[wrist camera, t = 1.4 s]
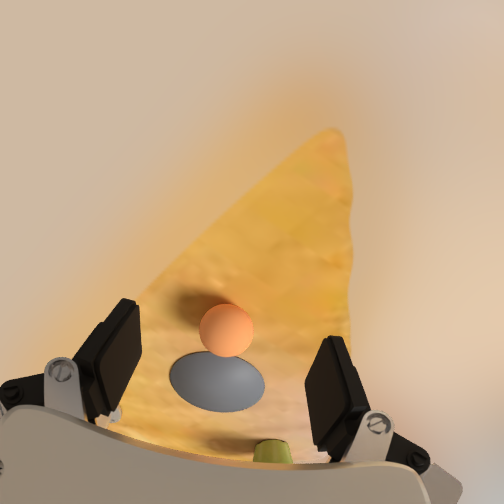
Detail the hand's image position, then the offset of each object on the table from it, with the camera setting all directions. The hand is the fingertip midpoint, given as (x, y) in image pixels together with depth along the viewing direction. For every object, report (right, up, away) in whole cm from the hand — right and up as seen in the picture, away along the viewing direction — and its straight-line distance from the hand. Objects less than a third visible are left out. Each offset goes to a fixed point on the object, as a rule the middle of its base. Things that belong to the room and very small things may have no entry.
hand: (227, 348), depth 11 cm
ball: (-2, -4, +16) cm, 16 cm away
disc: (-4, -14, +23) cm, 27 cm away
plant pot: (+5, -32, +29) cm, 43 cm away
